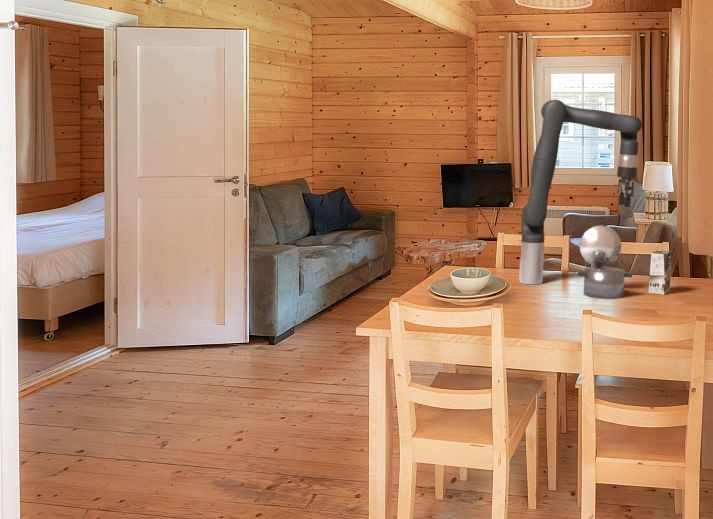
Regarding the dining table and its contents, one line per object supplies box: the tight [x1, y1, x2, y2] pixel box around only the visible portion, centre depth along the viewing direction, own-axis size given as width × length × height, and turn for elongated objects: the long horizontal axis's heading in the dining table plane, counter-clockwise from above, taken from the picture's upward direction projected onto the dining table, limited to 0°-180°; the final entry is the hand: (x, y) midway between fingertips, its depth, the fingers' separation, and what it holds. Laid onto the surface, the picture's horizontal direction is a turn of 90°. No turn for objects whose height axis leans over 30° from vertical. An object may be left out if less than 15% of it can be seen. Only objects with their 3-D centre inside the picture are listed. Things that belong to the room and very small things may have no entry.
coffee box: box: [648, 250, 673, 295], centre depth 361 cm, size 9×6×16 cm
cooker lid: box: [579, 224, 622, 266], centre depth 362 cm, size 16×16×4 cm
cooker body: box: [576, 265, 633, 300], centre depth 355 cm, size 21×17×10 cm
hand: (623, 205), depth 372 cm, fingers open, 8 cm apart
